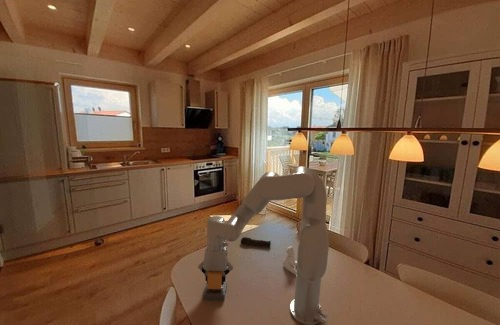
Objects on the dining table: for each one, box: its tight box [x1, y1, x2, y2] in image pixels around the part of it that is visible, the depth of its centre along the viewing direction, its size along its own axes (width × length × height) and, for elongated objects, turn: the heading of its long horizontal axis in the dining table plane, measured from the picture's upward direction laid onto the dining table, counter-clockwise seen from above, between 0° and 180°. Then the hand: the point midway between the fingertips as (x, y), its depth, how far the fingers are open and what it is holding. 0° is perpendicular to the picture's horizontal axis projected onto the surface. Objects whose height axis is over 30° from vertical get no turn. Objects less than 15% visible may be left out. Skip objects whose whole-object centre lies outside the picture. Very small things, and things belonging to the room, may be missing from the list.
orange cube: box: [206, 271, 222, 289], centre depth 94 cm, size 6×6×7 cm
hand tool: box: [240, 236, 272, 249], centre depth 134 cm, size 19×4×5 cm, turn 78°
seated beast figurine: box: [282, 245, 297, 276], centre depth 112 cm, size 10×9×12 cm
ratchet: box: [202, 278, 228, 302], centre depth 105 cm, size 29×9×6 cm, turn 179°
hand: (215, 281), depth 94 cm, fingers closed on orange cube, 6 cm apart
